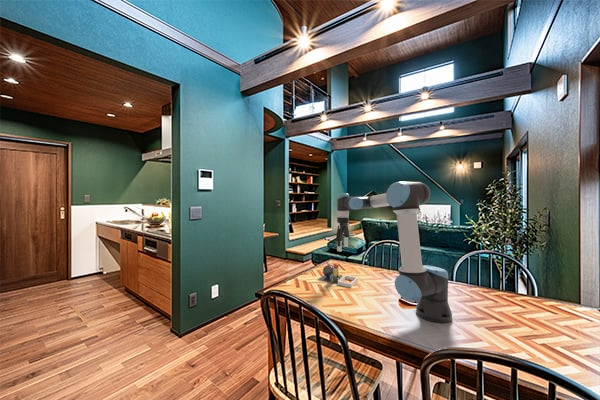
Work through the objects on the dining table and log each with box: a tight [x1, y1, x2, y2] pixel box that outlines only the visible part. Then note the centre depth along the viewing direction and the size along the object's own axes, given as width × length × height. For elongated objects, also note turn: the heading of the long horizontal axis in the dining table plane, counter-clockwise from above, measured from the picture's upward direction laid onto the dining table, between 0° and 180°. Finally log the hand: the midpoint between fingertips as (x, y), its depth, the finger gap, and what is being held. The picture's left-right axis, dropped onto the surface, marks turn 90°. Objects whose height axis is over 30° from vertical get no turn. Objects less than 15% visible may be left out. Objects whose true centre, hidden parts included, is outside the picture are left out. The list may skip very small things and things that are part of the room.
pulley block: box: [317, 264, 343, 285], centre depth 162 cm, size 13×15×9 cm
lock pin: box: [332, 263, 340, 282], centre depth 158 cm, size 3×3×11 cm
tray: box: [337, 275, 359, 288], centre depth 155 cm, size 13×9×3 cm
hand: (342, 248), depth 159 cm, fingers open, 13 cm apart
